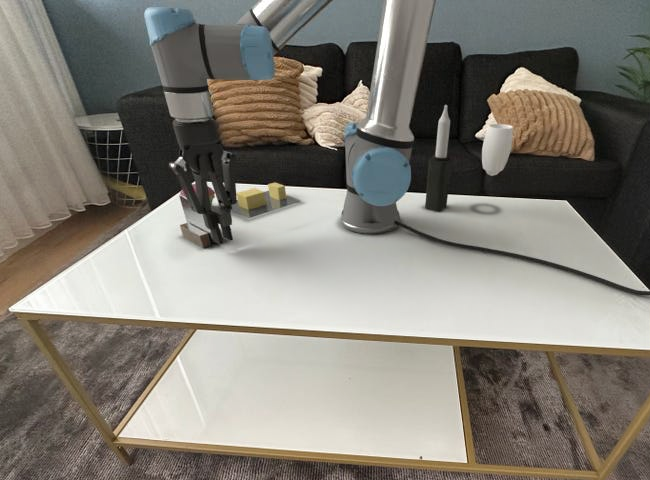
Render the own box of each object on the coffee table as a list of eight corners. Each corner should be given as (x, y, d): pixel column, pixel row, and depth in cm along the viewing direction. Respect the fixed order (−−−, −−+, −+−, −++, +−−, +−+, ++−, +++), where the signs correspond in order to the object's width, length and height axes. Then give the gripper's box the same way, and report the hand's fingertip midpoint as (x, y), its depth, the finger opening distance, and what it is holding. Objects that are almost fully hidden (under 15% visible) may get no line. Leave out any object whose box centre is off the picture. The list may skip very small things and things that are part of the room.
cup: (467, 207, 116) (479, 124, 102) (486, 202, 119) (500, 122, 105) (485, 215, 111) (500, 130, 98) (504, 210, 114) (521, 127, 101)
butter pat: (286, 198, 117) (284, 185, 115) (279, 200, 116) (277, 187, 113) (276, 194, 119) (275, 182, 117) (269, 196, 118) (267, 184, 116)
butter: (266, 204, 113) (264, 191, 111) (248, 210, 109) (245, 197, 107) (257, 200, 115) (254, 187, 113) (238, 206, 112) (236, 193, 109)
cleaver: (237, 247, 89) (229, 213, 84) (230, 249, 88) (222, 215, 83) (192, 223, 98) (183, 191, 93) (185, 225, 97) (175, 193, 92)
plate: (301, 203, 116) (301, 201, 116) (248, 220, 105) (247, 218, 105) (271, 191, 123) (271, 189, 122) (218, 207, 112) (218, 205, 112)
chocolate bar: (223, 241, 96) (220, 229, 94) (203, 248, 93) (199, 235, 91) (203, 230, 100) (199, 218, 98) (183, 237, 97) (179, 225, 95)
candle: (432, 203, 118) (441, 102, 102) (447, 206, 116) (460, 104, 100) (423, 208, 115) (431, 105, 98) (439, 212, 113) (450, 107, 96)
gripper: (218, 110, 81) (242, 226, 96) (143, 120, 72) (182, 245, 87) (240, 116, 77) (261, 235, 92) (164, 127, 68) (201, 256, 83)
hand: (223, 240), depth 90 cm, fingers closed on cleaver, 2 cm apart
